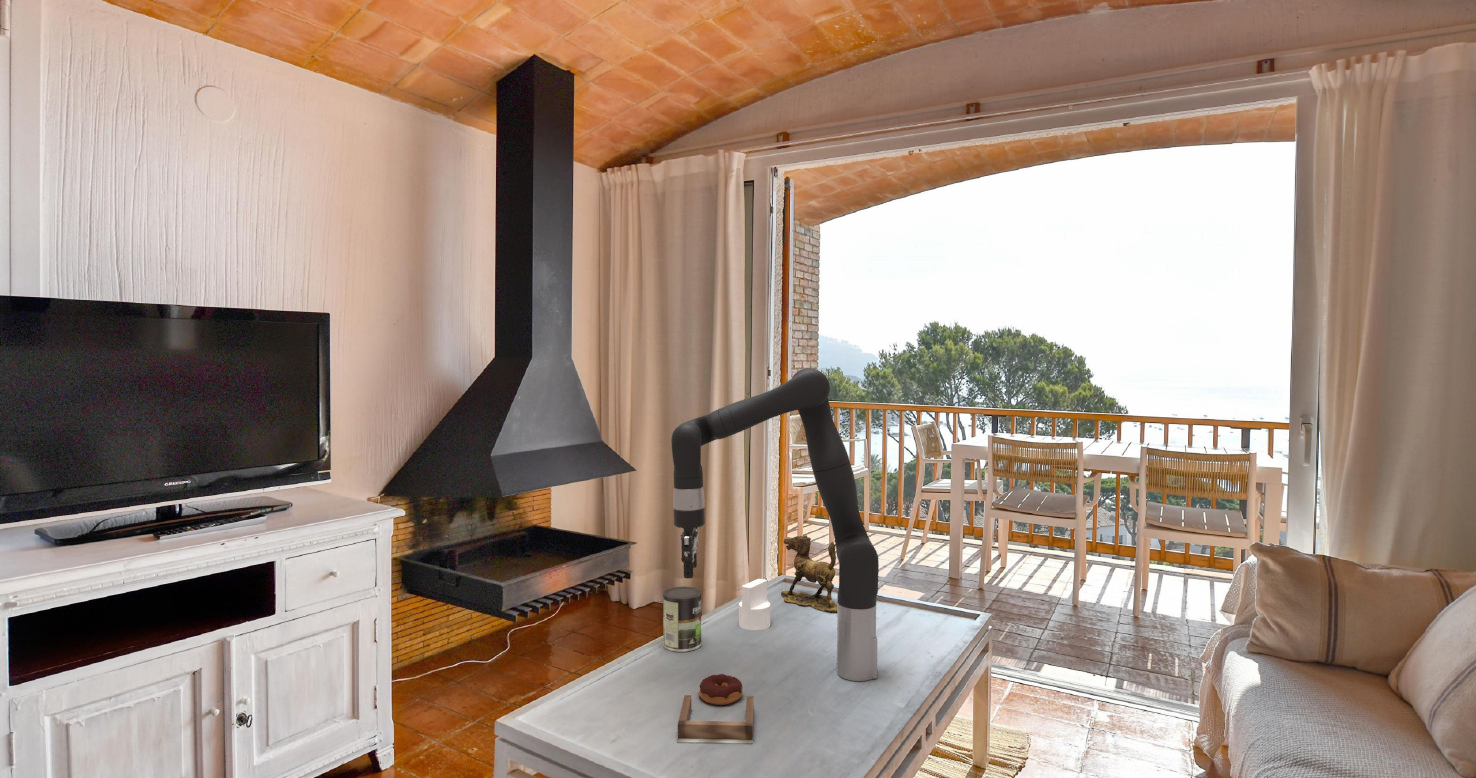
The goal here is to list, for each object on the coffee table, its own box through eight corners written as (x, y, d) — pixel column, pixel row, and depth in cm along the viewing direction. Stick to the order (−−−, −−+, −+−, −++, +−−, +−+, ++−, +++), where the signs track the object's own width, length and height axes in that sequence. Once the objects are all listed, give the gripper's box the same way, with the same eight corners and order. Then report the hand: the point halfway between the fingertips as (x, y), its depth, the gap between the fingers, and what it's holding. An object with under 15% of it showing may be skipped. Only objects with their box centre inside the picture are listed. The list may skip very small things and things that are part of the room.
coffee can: (705, 638, 198) (705, 587, 197) (696, 653, 188) (695, 599, 187) (669, 635, 200) (669, 584, 199) (657, 650, 190) (657, 597, 189)
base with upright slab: (750, 616, 214) (750, 576, 214) (776, 623, 209) (776, 581, 208) (732, 625, 207) (732, 584, 206) (758, 632, 202) (758, 590, 201)
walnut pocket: (753, 709, 158) (753, 696, 158) (752, 743, 144) (752, 729, 144) (684, 708, 159) (684, 694, 158) (676, 742, 145) (676, 727, 145)
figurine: (798, 588, 240) (798, 527, 239) (858, 608, 221) (859, 542, 220) (770, 597, 231) (770, 534, 230) (830, 618, 213) (831, 550, 212)
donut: (700, 686, 169) (700, 669, 169) (743, 687, 169) (743, 670, 169) (696, 707, 159) (696, 689, 159) (741, 708, 159) (741, 690, 159)
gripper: (701, 511, 168) (703, 581, 168) (707, 499, 182) (708, 563, 183) (669, 512, 168) (671, 581, 169) (677, 500, 182) (678, 564, 183)
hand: (690, 572), depth 176 cm, fingers open, 8 cm apart
